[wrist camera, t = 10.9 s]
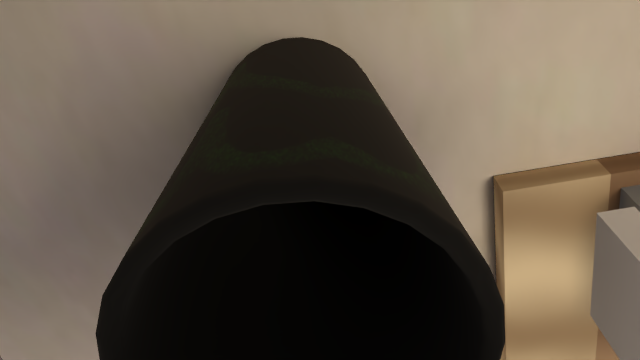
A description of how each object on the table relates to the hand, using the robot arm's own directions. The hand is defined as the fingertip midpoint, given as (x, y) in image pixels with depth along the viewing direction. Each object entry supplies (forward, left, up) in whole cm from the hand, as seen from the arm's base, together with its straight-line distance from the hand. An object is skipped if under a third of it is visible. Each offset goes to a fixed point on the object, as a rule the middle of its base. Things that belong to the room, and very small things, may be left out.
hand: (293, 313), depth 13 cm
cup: (0, 0, -11) cm, 11 cm away
